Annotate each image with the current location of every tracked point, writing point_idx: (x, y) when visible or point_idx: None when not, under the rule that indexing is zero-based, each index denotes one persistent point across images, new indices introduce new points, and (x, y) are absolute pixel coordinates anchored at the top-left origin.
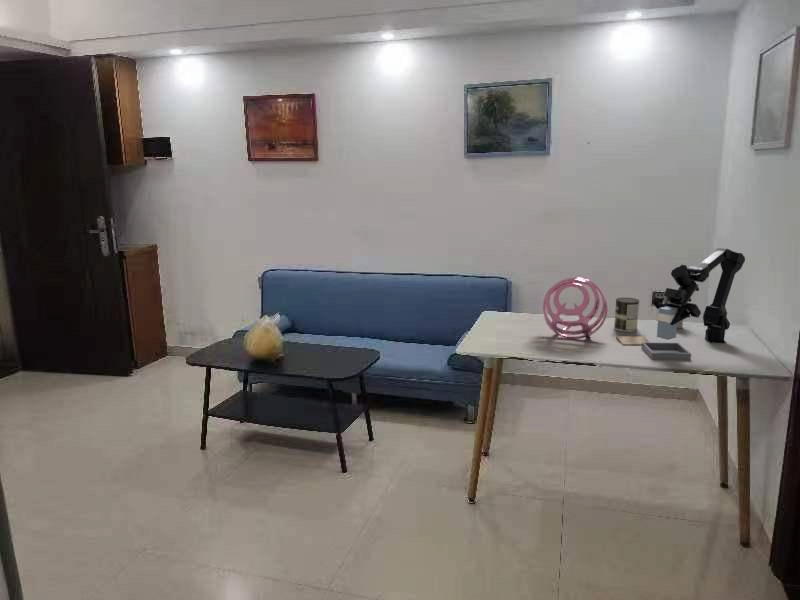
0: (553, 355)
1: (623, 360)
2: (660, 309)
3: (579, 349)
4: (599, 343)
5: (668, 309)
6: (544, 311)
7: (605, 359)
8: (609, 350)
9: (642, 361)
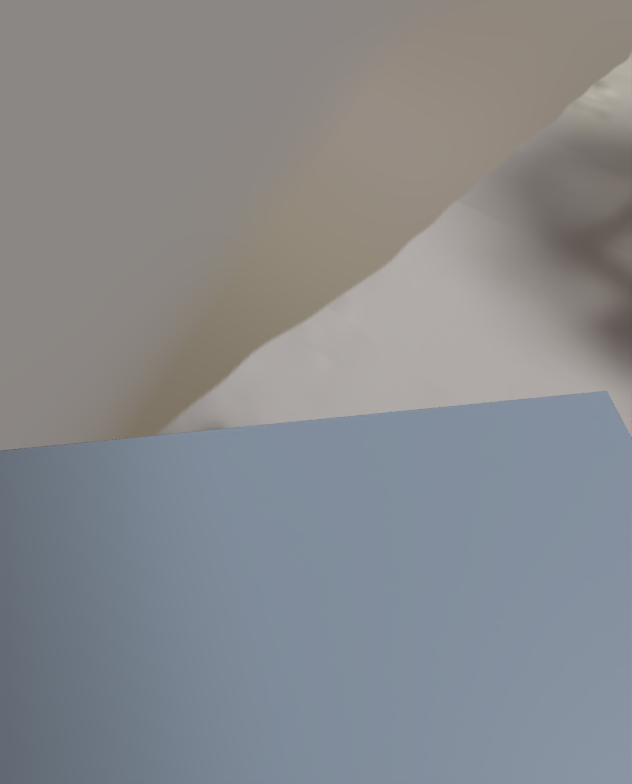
0: (539, 141)
1: (346, 318)
2: (494, 430)
3: (611, 260)
4: None
5: (71, 592)
6: None
7: (402, 260)
8: (554, 378)
9: (275, 392)
